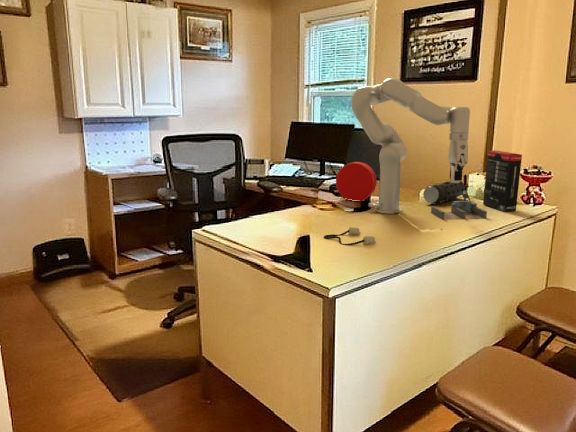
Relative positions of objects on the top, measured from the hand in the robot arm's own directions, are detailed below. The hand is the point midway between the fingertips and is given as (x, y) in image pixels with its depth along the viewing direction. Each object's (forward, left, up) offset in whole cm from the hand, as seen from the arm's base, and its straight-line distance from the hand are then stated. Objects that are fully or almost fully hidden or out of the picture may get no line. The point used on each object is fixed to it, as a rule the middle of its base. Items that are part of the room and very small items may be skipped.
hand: (455, 179), depth 206 cm
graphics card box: (+31, +18, -18) cm, 40 cm away
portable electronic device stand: (+15, +17, -18) cm, 29 cm away
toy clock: (-34, +41, -18) cm, 56 cm away
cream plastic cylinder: (0, 0, -1) cm, 1 cm away
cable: (-52, -30, -18) cm, 63 cm away
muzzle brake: (+11, +36, -18) cm, 41 cm away
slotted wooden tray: (+3, +1, -17) cm, 18 cm away
